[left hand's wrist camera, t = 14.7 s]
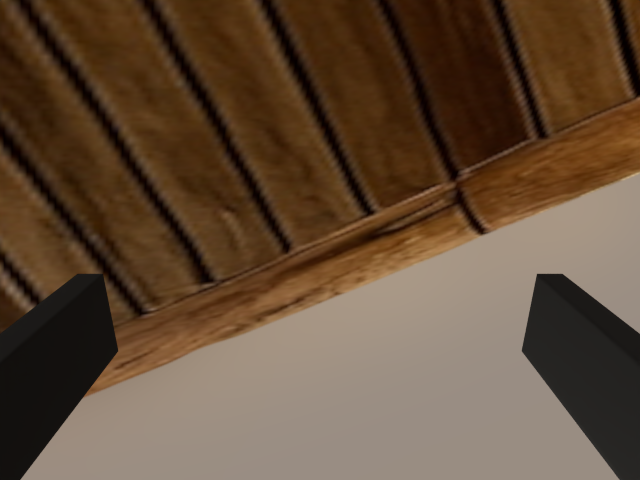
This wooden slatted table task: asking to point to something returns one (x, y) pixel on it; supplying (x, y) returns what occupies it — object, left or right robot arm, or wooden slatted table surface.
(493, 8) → the wooden slatted table surface
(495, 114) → the wooden slatted table surface
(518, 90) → the wooden slatted table surface
